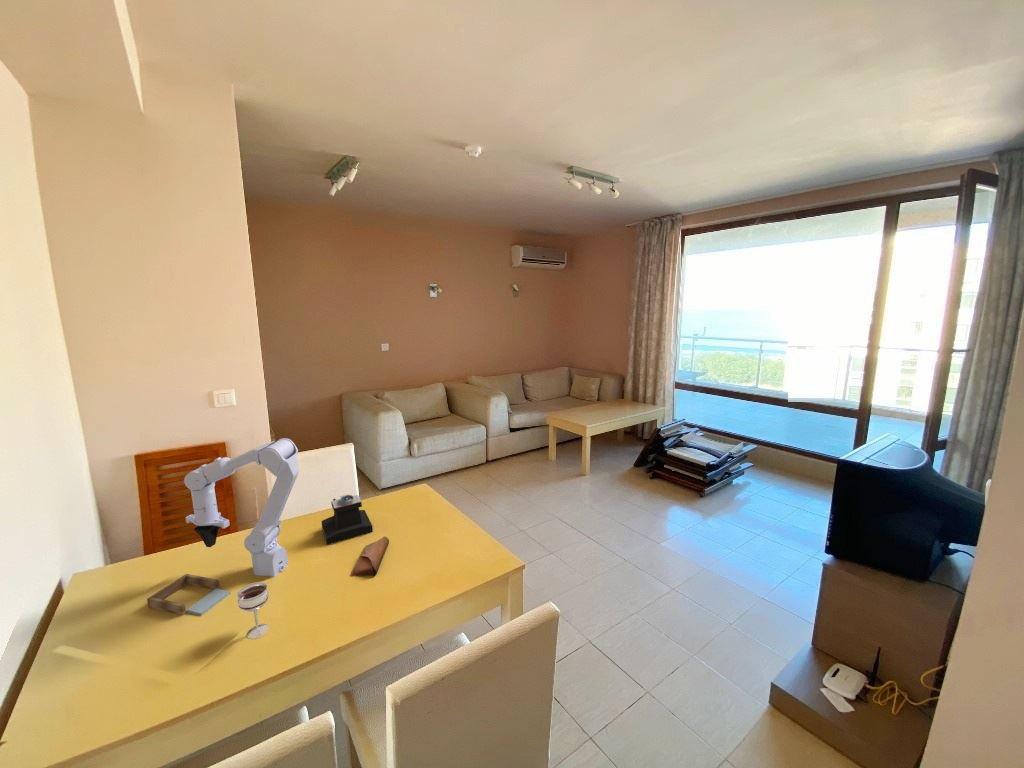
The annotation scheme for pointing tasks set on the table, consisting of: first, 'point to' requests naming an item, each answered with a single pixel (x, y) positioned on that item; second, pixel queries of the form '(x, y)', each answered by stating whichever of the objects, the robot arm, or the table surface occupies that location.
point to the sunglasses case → (371, 558)
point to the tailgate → (208, 601)
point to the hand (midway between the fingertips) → (211, 545)
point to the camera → (346, 520)
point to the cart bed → (175, 607)
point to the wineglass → (254, 605)
